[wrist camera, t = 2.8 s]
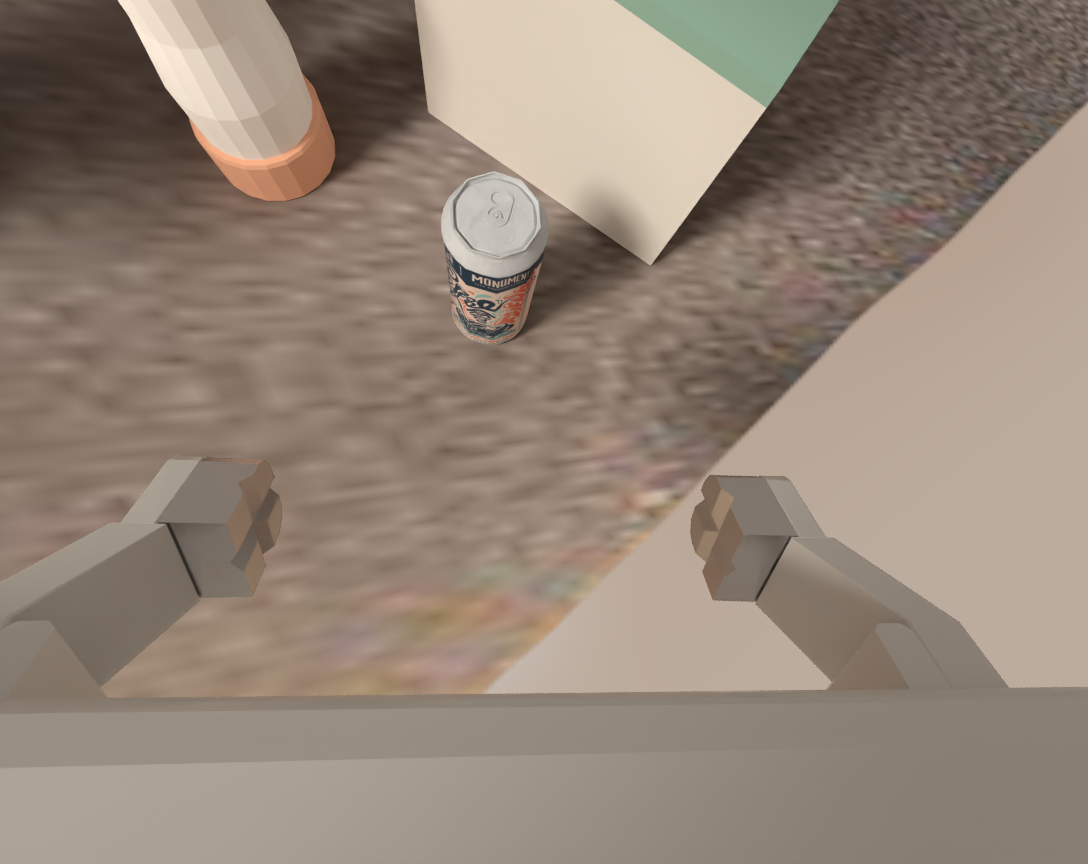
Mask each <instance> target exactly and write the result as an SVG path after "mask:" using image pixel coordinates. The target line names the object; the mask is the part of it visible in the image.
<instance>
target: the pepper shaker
mask: <svg viewBox="0 0 1088 864" xmlns="http://www.w3.org/2000/svg"><path fill="white" fill-rule="evenodd" d="M118 2H119V3H120V4H121V6H122V7H123V9H124V10H125V12H126V13H127V14H128V16H129V17H130V19H131V21H132V23H133V25H134V27H135V29H136V31H137V33H138V35H139V37H140V39H141V41H142V43H143V45H144V47H145V49H146V51H147V53H148V55H149V57H150V59H151V61H152V63H153V65H154V67H155V69H156V71H157V72H158V74H159V76H160V78H161V80H162V82H163V84H164V86H165V88H166V89H167V90H168V92H169V93H170V94H171V95H172V97H173V98H174V99H175V100H176V102H177V103H178V104H179V105H180V107H181V108H182V109H183V110H184V112H185V113H186V114H187V115H188V117H189V121H190V123H191V126H192V129H193V131H194V134H195V137H196V139H197V140H198V141H199V142H200V144H201V145H202V146H203V148H204V149H205V150H206V152H207V153H208V154H209V156H210V157H211V158H212V159H213V161H214V162H215V163H216V165H217V166H218V167H219V169H220V170H221V171H222V172H223V174H224V175H225V176H226V177H227V178H228V180H229V181H230V182H231V183H232V184H233V186H235V187H236V188H238V189H239V190H241V191H243V192H244V193H246V194H247V195H249V196H252V197H255V198H259V199H263V200H266V201H288V200H291V199H295V198H298V197H302V196H305V195H306V194H308V193H309V192H311V191H312V190H314V189H315V188H317V187H318V186H320V184H321V183H322V182H323V181H324V179H325V178H326V177H327V175H328V174H329V173H330V171H331V168H332V165H333V162H334V159H335V140H334V137H333V134H332V132H331V129H330V127H329V124H328V122H327V119H326V116H325V114H324V111H323V109H322V106H321V104H320V101H319V99H318V96H317V94H316V91H315V89H314V86H313V85H312V84H311V83H310V82H309V81H308V79H307V78H306V77H305V76H304V75H303V73H302V72H301V70H300V67H299V64H298V61H297V59H296V56H295V53H294V51H293V48H292V46H291V43H290V41H289V38H288V36H287V34H286V33H285V31H284V30H283V28H282V26H281V25H280V23H279V21H278V20H277V18H276V17H275V15H274V13H273V12H272V10H271V8H270V7H269V5H268V4H267V2H266V0H118Z"/></svg>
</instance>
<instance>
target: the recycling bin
mask: <svg viewBox="0 0 1088 864" xmlns="http://www.w3.org/2000/svg"><path fill="white" fill-rule="evenodd" d="M838 1H839V0H415V8H416V16H417V24H418V33H419V41H420V49H421V57H422V65H423V74H424V82H425V90H426V98H427V106H428V113H430V114H431V115H433V116H434V117H436V118H437V119H439V120H440V121H441V122H443V123H444V124H446V125H447V126H449V127H450V128H452V129H453V130H454V131H456V132H457V133H459V134H460V135H462V136H463V137H465V138H466V139H468V140H469V141H470V142H472V143H473V144H475V145H476V146H478V147H479V148H481V149H482V150H483V151H485V152H486V153H488V154H489V155H491V156H492V157H494V158H495V159H497V160H498V161H499V162H501V163H502V164H504V165H505V166H507V167H508V168H510V169H511V170H512V171H514V172H515V173H517V174H518V175H520V176H521V177H523V178H524V179H525V180H527V181H528V182H530V183H531V184H533V185H534V186H536V187H537V188H539V189H540V190H541V191H543V192H544V193H546V194H547V195H549V196H550V197H552V198H553V199H554V200H556V201H557V202H559V203H560V204H562V205H563V206H565V207H566V208H568V209H569V210H570V211H572V212H573V213H575V214H576V215H578V216H579V217H581V218H582V219H583V220H585V221H586V222H588V223H589V224H591V225H592V226H594V227H595V228H597V229H598V230H599V231H601V232H602V233H604V234H605V235H607V236H608V237H610V238H611V239H612V240H614V241H615V242H617V243H618V244H620V245H621V246H623V247H624V248H626V249H627V250H628V251H630V252H631V253H633V254H634V255H636V256H637V257H639V258H640V259H641V260H643V261H644V262H646V263H647V264H649V265H650V266H651V265H652V263H653V262H654V260H655V259H656V258H657V256H658V255H659V254H660V252H661V251H662V250H663V248H664V247H665V245H666V244H667V243H668V241H669V240H670V239H671V237H672V236H673V235H674V233H675V232H676V231H677V229H678V228H679V226H680V225H681V224H682V222H683V221H684V220H685V218H686V217H687V216H688V214H689V213H690V211H691V210H692V209H693V207H694V206H695V205H696V203H697V202H698V201H699V199H700V198H701V197H702V195H703V194H704V192H705V191H706V190H707V188H708V187H709V186H710V184H711V183H712V182H713V180H714V179H715V177H716V176H717V175H718V173H719V172H720V171H721V169H722V168H723V167H724V165H725V164H726V162H727V161H728V160H729V158H730V157H731V156H732V154H733V153H734V152H735V150H736V149H737V148H738V146H739V145H740V143H741V142H742V141H743V139H744V138H745V137H746V135H747V134H748V133H749V131H750V130H751V128H752V127H753V126H754V124H755V123H756V122H757V120H758V119H759V118H760V116H761V115H762V114H763V112H764V111H765V109H766V108H767V107H768V105H769V104H770V103H771V101H772V100H773V99H774V97H775V96H776V94H777V93H778V92H779V90H780V89H781V87H782V86H783V84H784V83H785V81H786V80H787V78H788V77H789V75H790V74H791V72H792V71H793V69H794V68H795V66H796V65H797V63H798V62H799V60H800V59H801V57H802V56H803V54H804V53H805V51H806V50H807V48H808V47H809V45H810V44H811V42H812V41H813V39H814V38H815V36H816V35H817V33H818V32H819V30H820V29H821V27H822V26H823V24H824V23H825V21H826V20H827V18H828V16H829V15H830V13H831V12H832V10H833V9H834V7H835V6H836V4H837V3H838Z"/></svg>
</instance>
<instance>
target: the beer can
mask: <svg viewBox="0 0 1088 864" xmlns="http://www.w3.org/2000/svg"><path fill="white" fill-rule="evenodd" d="M441 231H442V236H443V240H444V244H445V252H446V261H447V269H448V277H449V285H450V293H451V302H452V315H453V319H454V322H455V324H456V326H457V327H458V328H459V330H460V331H461V332H462V333H463V334H464V335H465V336H466V337H468V338H469V339H470V340H472V341H475V342H477V343H480V344H486V345H497V344H501V343H504V342H506V341H509V340H510V339H512V338H513V337H515V336H516V335H517V334H518V333H519V332H520V330H521V329H522V327H523V325H524V323H525V321H526V318H527V314H528V310H529V307H530V303H531V299H532V296H533V292H534V288H535V285H536V281H537V277H538V274H539V270H540V266H541V263H542V259H543V255H544V251H545V248H546V244H547V239H548V232H549V229H548V219H547V215H546V212H545V210H544V208H543V206H542V204H541V202H540V201H539V200H538V198H537V197H536V196H535V195H534V194H533V193H532V191H531V190H530V189H529V188H528V187H527V186H526V185H525V184H524V183H523V181H522V180H520V179H517V178H514V177H510V176H507V175H504V174H501V173H498V172H494V171H493V172H490V173H486V174H483V175H480V176H476V177H473V178H469V179H467V180H466V181H465V183H463V184H462V185H460V186H459V187H458V188H457V189H456V190H455V191H454V192H453V193H452V195H451V196H450V197H449V198H448V200H447V202H446V205H445V207H444V209H443V213H442V218H441Z"/></svg>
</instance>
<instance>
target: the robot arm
mask: <svg viewBox="0 0 1088 864" xmlns="http://www.w3.org/2000/svg"><path fill="white" fill-rule="evenodd" d="M273 479H274V474H273V471H272V468H271V465H270V463H269V462H267V461H265V460H253V459H235V458H217V457H206V458H204V457H189V456H175V457H173V458H171V459H169V460H168V461H167V462H166V463H165V465H164V466H163V467H162V469H161V470H160V471H159V472H158V474H157V475H156V476H155V478H154V479H153V480H152V482H151V483H150V484H149V486H148V487H147V488H146V490H145V491H144V492H143V494H142V495H141V496H140V498H139V499H138V500H137V501H136V503H135V504H134V505H133V507H132V508H131V509H130V511H129V512H128V513H127V515H126V516H125V517H124V519H123V520H122V521H121V523H109V524H107V525H105V526H103V527H102V528H100V529H98V530H96V531H94V532H92V533H90V534H89V535H87V536H85V537H83V538H81V539H79V540H77V541H76V542H74V543H72V544H70V545H68V546H66V547H64V548H63V549H61V550H59V551H57V552H55V553H53V554H52V555H50V556H48V557H46V558H44V559H42V560H40V561H39V562H37V563H35V564H33V565H31V566H29V567H27V568H26V569H24V570H22V571H20V572H18V573H16V574H14V575H13V576H11V577H9V578H7V579H5V580H3V581H1V582H0V864H1088V687H1044V688H1043V687H1041V688H1009V687H1008V686H1007V684H1006V683H1005V682H1004V680H1003V679H1002V678H1001V676H1000V675H999V674H998V673H997V671H996V670H995V669H994V667H993V666H992V665H991V663H990V662H989V661H988V660H987V658H986V657H985V655H984V654H983V653H982V651H981V650H980V649H979V647H978V646H977V645H976V643H975V642H974V641H973V639H972V638H971V637H970V636H969V634H968V633H967V632H966V630H965V629H964V628H963V626H962V625H961V624H960V622H958V621H957V620H956V619H954V618H952V617H951V616H950V615H948V614H947V613H945V612H944V611H942V610H940V609H939V608H938V607H936V606H935V605H933V604H932V603H930V602H929V601H927V600H926V599H924V598H923V597H921V596H920V595H918V594H917V593H915V592H914V591H912V590H911V589H909V588H908V587H906V586H905V585H903V584H902V583H900V582H899V581H897V580H896V579H894V578H893V577H892V576H890V575H889V574H887V573H885V572H884V571H883V570H881V569H880V568H878V567H877V566H875V565H873V564H872V563H871V562H869V561H868V560H866V559H865V558H863V557H862V556H860V555H859V554H857V553H856V552H854V551H853V550H851V549H850V548H848V547H847V546H845V545H844V544H842V543H841V542H839V541H838V540H836V539H835V538H826V536H825V535H824V533H823V531H822V530H821V528H820V527H819V525H818V524H817V522H816V520H815V519H814V517H813V516H812V514H811V512H810V511H809V509H808V508H807V506H806V505H805V503H804V501H803V500H802V498H801V497H800V495H799V494H798V492H797V490H796V489H795V487H794V486H793V484H792V483H791V481H790V480H789V479H787V478H786V477H784V476H759V477H756V476H721V475H709V477H708V478H707V479H706V480H705V482H704V484H703V487H702V490H701V491H702V493H703V496H704V498H705V500H703V501H702V502H701V503H699V504H698V505H697V506H696V507H695V509H694V512H693V515H692V518H691V532H690V533H691V539H692V544H693V546H694V550H695V552H696V554H697V555H698V556H700V557H701V558H702V559H703V560H704V561H705V562H706V564H705V567H704V569H703V574H704V577H705V580H706V583H707V585H708V588H709V591H710V593H711V596H712V599H713V600H719V601H720V600H721V601H748V602H756V605H757V606H758V607H759V608H760V609H761V610H762V611H763V612H764V613H765V614H766V615H767V616H768V617H769V618H770V619H771V620H772V621H773V622H774V623H775V624H776V625H777V626H778V627H779V628H780V629H781V630H782V631H783V632H784V633H785V634H786V635H787V636H788V637H789V639H791V641H793V643H794V644H795V645H796V646H798V648H799V649H801V651H802V652H803V653H804V654H805V655H806V656H807V657H808V658H809V659H810V660H811V661H812V662H813V663H814V664H815V665H816V666H817V667H818V668H819V669H820V670H821V671H822V672H823V673H824V674H825V675H826V676H827V677H828V678H829V679H830V680H831V681H832V682H831V684H830V685H829V686H828V687H827V689H826V690H778V691H777V690H776V691H775V690H774V691H693V692H692V691H691V692H620V693H619V692H616V693H615V692H614V693H613V692H611V693H536V694H534V693H533V694H438V695H347V696H259V697H171V698H108V697H107V695H106V694H105V693H104V691H103V690H102V689H101V686H102V685H104V684H105V683H106V682H107V681H108V680H109V679H110V678H112V677H113V676H114V675H115V674H116V673H117V672H119V671H120V670H121V669H122V668H123V667H124V666H125V665H127V664H128V663H129V662H130V661H131V660H132V659H134V658H135V657H136V656H137V655H138V654H139V653H140V652H142V651H143V650H144V649H145V648H146V647H147V646H148V645H150V644H151V643H152V642H153V641H154V640H155V639H157V638H158V637H159V636H160V635H161V634H162V633H163V632H165V631H166V630H167V629H168V628H169V627H170V626H171V625H173V624H174V623H175V622H176V621H177V620H178V619H180V618H181V617H182V616H183V615H184V614H185V613H186V612H188V611H189V610H190V609H191V608H192V607H193V606H194V605H196V604H197V603H198V602H199V601H200V598H212V597H253V595H254V592H255V590H256V588H257V585H258V583H259V581H260V579H261V576H262V574H263V572H264V569H265V567H266V564H265V561H264V557H263V554H264V553H265V552H267V551H268V550H270V549H271V548H272V547H274V546H275V543H276V541H277V538H278V536H279V533H280V528H281V522H282V505H281V501H280V497H279V495H278V494H277V493H276V492H274V491H273V490H272V489H271V488H270V485H271V483H272V481H273Z"/></svg>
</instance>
